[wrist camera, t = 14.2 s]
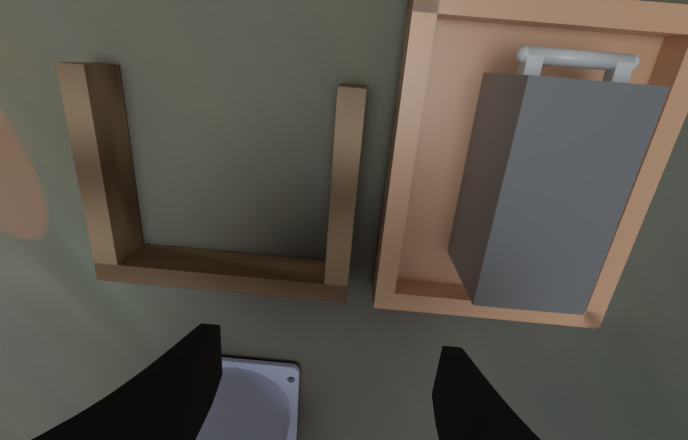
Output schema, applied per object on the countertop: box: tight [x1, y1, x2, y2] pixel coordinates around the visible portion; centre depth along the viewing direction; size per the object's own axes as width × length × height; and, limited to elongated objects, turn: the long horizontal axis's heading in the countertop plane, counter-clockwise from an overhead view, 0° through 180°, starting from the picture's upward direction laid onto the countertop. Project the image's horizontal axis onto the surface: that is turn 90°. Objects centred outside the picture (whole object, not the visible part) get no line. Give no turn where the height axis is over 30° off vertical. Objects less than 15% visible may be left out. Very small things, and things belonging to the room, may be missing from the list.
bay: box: [55, 62, 367, 303], centre depth 19 cm, size 10×13×2 cm
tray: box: [373, 0, 688, 329], centre depth 18 cm, size 15×12×2 cm
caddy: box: [448, 45, 670, 315], centre depth 16 cm, size 10×5×5 cm, turn 176°
